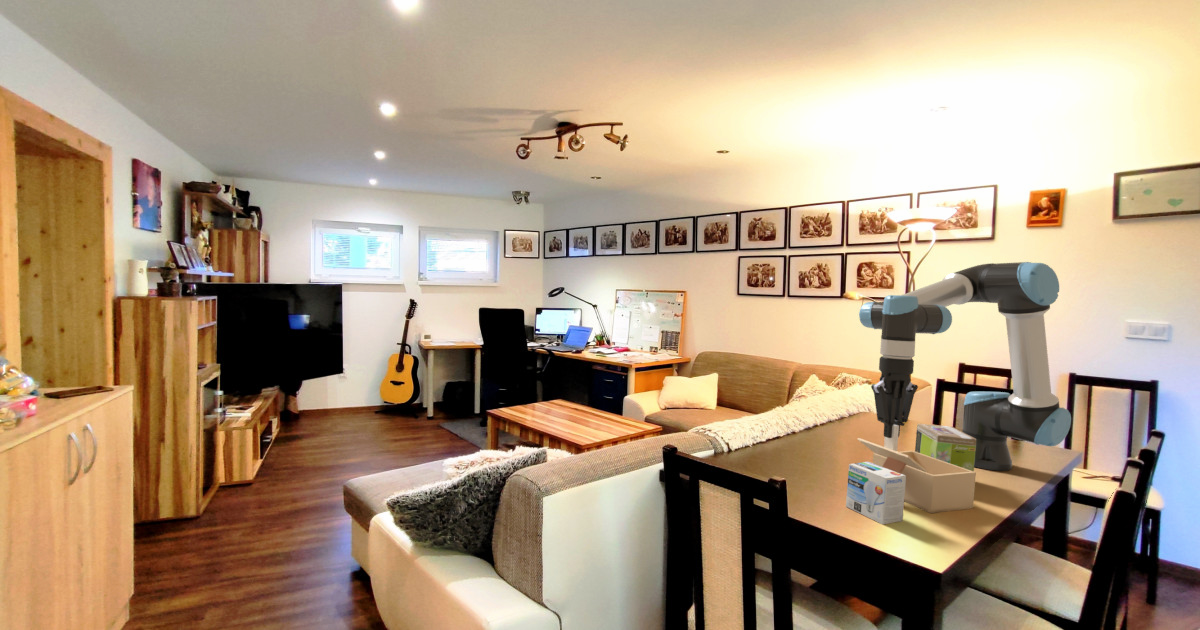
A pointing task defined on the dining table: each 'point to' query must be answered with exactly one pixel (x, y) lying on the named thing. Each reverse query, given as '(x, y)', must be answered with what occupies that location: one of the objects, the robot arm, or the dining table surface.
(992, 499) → the dining table surface
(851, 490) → the light bulb box
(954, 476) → the carton
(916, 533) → the dining table surface
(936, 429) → the tea box
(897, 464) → the flap
